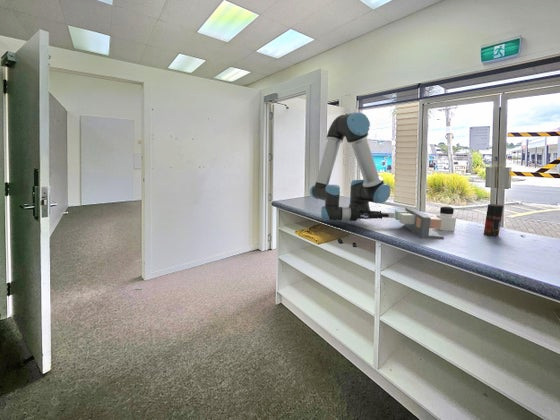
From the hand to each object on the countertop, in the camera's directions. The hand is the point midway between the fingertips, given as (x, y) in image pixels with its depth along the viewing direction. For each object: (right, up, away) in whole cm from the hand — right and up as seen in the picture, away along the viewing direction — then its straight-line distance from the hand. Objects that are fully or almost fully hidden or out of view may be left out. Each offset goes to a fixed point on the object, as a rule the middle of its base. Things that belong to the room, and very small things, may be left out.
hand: (394, 215), depth 154 cm
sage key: (+6, -2, 0) cm, 6 cm away
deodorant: (+42, -10, -13) cm, 46 cm away
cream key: (+5, -4, -8) cm, 10 cm away
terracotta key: (+10, -6, -16) cm, 20 cm away
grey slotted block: (+11, -8, -8) cm, 16 cm away
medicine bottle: (+26, -8, -3) cm, 27 cm away
